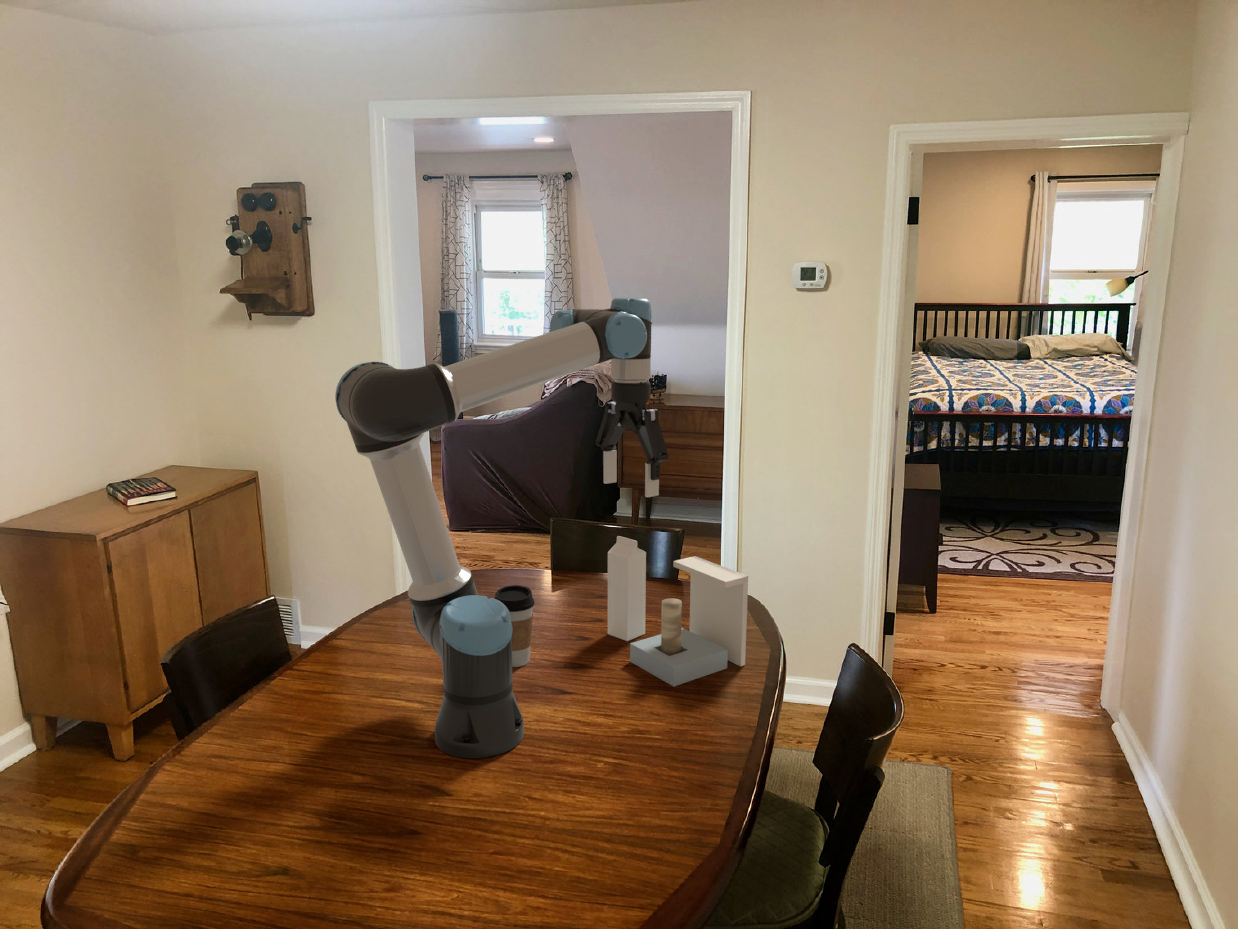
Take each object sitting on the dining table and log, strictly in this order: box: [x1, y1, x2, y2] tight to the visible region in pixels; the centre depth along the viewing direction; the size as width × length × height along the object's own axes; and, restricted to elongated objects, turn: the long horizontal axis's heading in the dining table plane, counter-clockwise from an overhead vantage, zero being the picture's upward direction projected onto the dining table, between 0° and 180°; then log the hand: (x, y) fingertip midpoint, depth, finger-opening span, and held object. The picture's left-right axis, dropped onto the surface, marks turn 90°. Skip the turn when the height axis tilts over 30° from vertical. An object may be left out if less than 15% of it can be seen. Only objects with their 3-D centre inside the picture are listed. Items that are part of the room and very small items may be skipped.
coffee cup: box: [494, 584, 535, 668], centre depth 181 cm, size 8×8×15 cm
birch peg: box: [660, 598, 683, 656], centre depth 178 cm, size 4×4×14 cm
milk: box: [607, 535, 647, 642], centre depth 194 cm, size 6×6×22 cm
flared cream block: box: [673, 555, 749, 667], centre depth 184 cm, size 6×16×19 cm, turn 36°
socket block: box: [629, 627, 729, 687], centre depth 181 cm, size 14×14×4 cm
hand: (630, 489), depth 174 cm, fingers open, 13 cm apart
